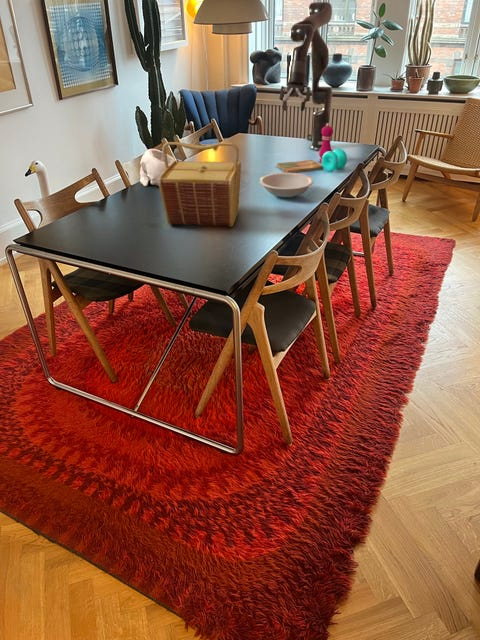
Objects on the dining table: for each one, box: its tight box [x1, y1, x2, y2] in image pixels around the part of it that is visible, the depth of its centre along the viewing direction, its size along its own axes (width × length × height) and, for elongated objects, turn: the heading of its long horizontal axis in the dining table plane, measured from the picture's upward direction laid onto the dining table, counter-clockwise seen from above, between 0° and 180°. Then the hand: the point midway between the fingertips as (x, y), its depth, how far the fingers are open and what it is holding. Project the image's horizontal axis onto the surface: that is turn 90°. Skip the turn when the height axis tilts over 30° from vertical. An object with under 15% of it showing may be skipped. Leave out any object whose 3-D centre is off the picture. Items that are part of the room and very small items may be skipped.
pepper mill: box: [318, 122, 334, 164], centre depth 254 cm, size 7×7×20 cm
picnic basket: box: [158, 141, 242, 228], centre depth 185 cm, size 29×26×30 cm
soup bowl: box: [259, 172, 315, 198], centre depth 215 cm, size 24×24×7 cm
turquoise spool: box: [321, 148, 348, 173], centre depth 244 cm, size 10×10×10 cm
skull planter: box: [139, 148, 177, 187], centre depth 230 cm, size 14×20×19 cm
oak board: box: [277, 159, 324, 173], centre depth 251 cm, size 14×20×2 cm
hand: (293, 110), depth 225 cm, fingers open, 8 cm apart
